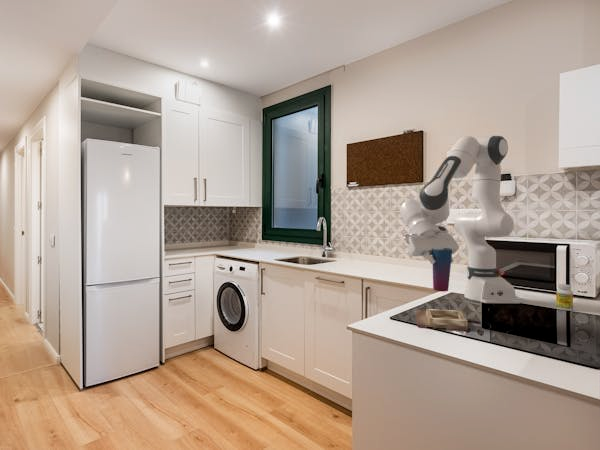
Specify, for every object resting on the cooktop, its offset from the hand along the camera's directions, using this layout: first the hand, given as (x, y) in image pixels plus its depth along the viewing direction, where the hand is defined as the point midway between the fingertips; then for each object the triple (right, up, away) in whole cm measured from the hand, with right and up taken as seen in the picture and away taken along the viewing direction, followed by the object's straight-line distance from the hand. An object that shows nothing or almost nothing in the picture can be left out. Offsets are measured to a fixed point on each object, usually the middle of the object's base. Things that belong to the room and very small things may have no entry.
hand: (443, 262), depth 126 cm
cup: (0, -10, +1) cm, 10 cm away
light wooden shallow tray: (-1, -21, +2) cm, 22 cm away
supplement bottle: (+55, -21, +16) cm, 61 cm away
